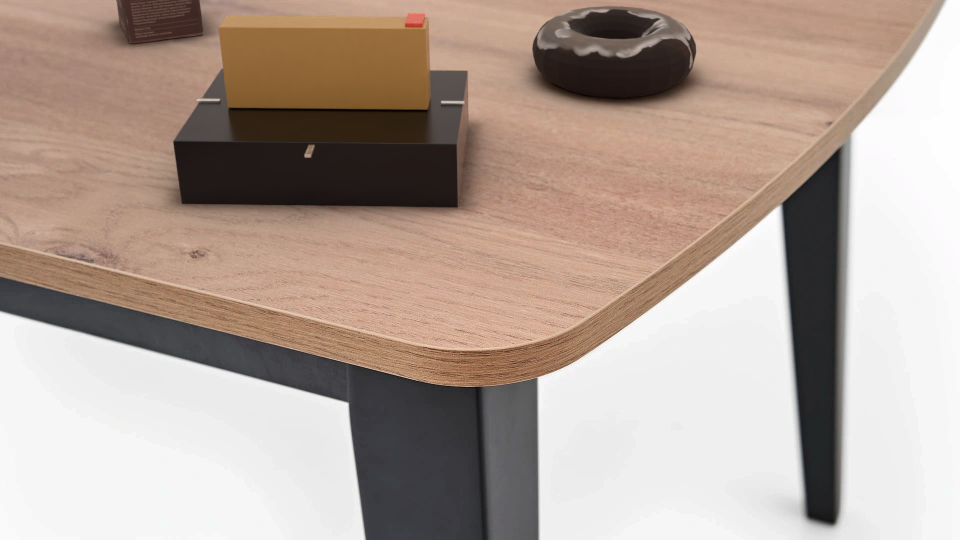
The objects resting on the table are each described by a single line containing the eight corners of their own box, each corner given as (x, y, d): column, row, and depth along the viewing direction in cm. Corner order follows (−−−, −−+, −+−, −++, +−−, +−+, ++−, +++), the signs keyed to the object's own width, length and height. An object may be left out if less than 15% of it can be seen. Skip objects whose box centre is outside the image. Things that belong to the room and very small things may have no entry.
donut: (604, 119, 81) (607, 61, 79) (500, 71, 89) (500, 18, 87) (728, 82, 87) (733, 28, 85) (619, 40, 95) (621, -10, 93)
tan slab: (227, 108, 72) (217, 22, 70) (235, 94, 74) (226, 11, 72) (428, 110, 72) (425, 24, 69) (430, 96, 74) (428, 12, 71)
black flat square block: (170, 221, 68) (160, 153, 66) (233, 113, 82) (226, 55, 80) (457, 225, 68) (456, 156, 66) (471, 116, 82) (470, 57, 80)
